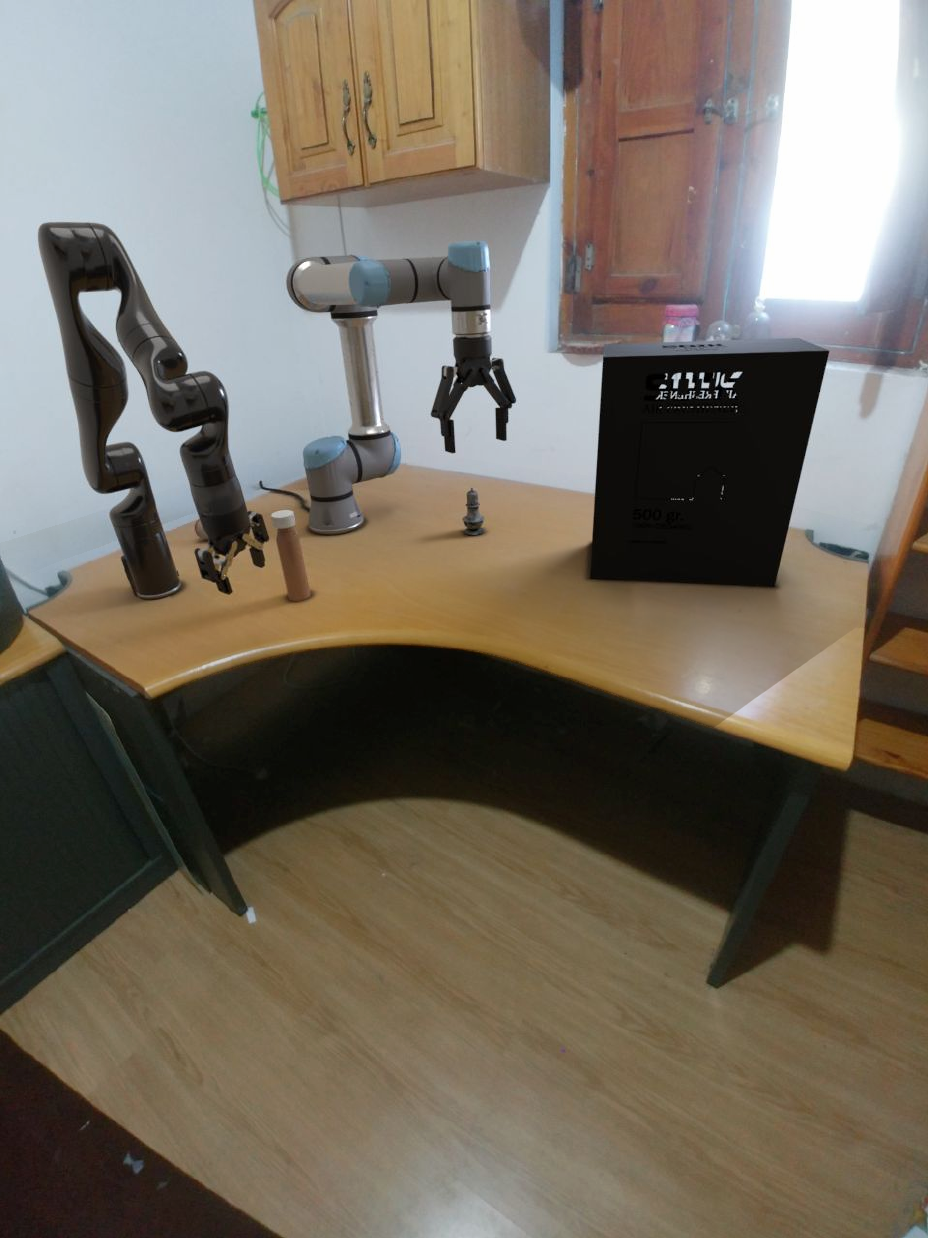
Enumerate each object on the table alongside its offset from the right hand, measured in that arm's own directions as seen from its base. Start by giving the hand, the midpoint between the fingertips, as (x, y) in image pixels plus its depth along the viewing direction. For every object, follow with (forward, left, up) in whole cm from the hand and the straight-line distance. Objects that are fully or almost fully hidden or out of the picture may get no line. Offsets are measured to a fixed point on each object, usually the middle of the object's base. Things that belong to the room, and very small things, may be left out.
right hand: (476, 445), depth 127 cm
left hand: (-1, -53, -14) cm, 55 cm away
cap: (-15, -39, -9) cm, 43 cm away
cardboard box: (+29, +34, -28) cm, 52 cm away
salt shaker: (-18, +12, -28) cm, 35 cm away
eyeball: (-64, -44, -28) cm, 83 cm away
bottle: (-15, -39, -28) cm, 50 cm away
